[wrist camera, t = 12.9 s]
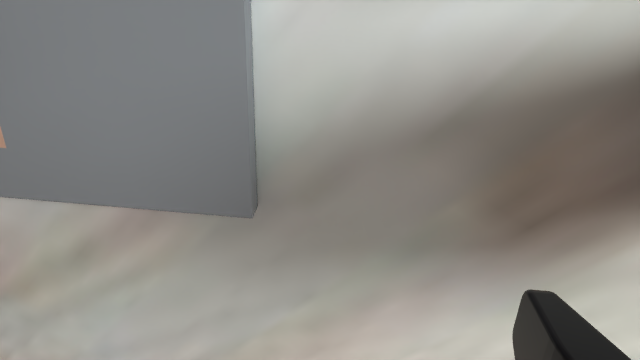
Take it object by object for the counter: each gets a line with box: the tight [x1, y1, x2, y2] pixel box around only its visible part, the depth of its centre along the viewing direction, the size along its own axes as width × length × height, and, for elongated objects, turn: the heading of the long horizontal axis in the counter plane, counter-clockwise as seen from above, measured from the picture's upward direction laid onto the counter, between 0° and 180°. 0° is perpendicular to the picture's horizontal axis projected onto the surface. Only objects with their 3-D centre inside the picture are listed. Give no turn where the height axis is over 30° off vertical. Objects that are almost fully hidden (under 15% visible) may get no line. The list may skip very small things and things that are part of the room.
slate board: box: [0, 0, 257, 218], centre depth 21 cm, size 18×12×1 cm, turn 88°
